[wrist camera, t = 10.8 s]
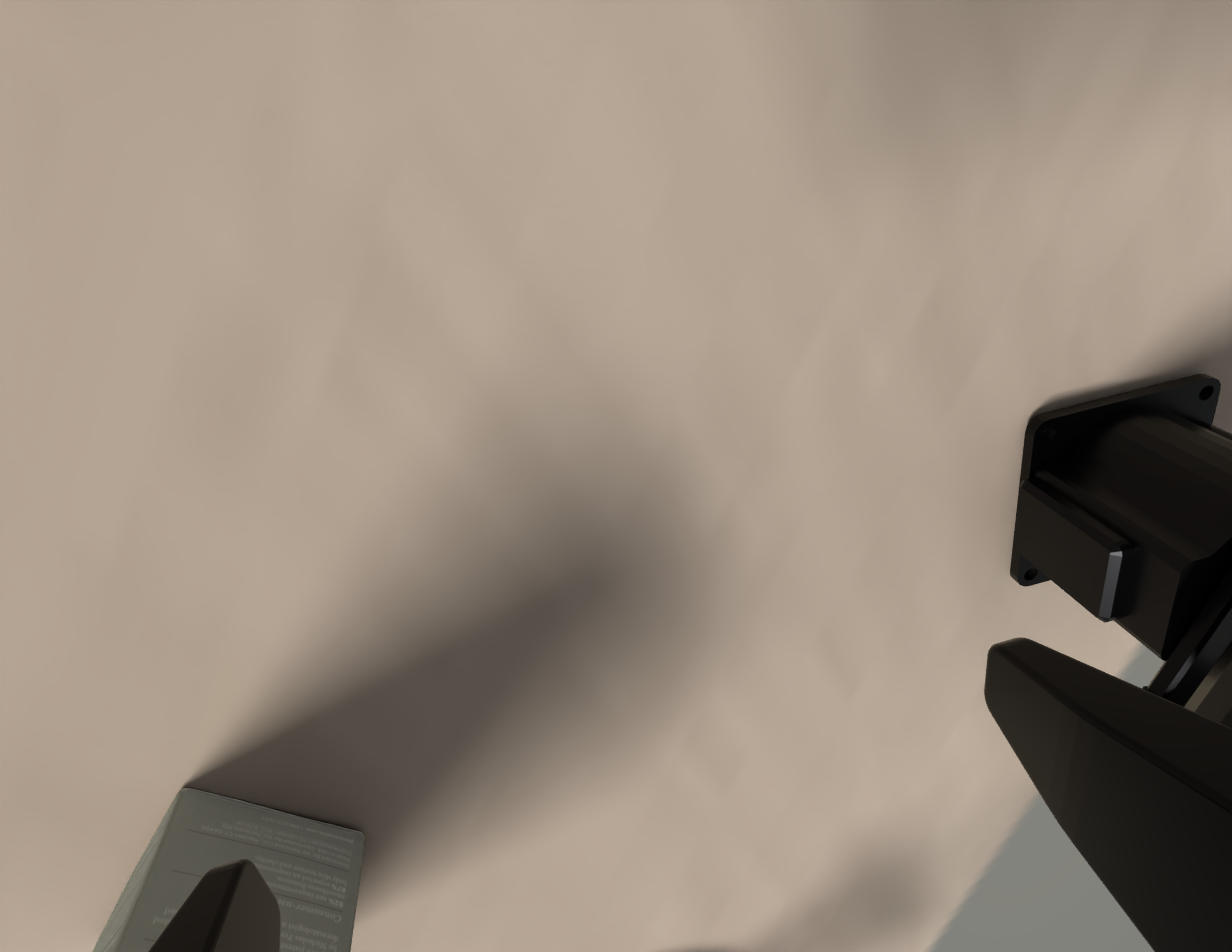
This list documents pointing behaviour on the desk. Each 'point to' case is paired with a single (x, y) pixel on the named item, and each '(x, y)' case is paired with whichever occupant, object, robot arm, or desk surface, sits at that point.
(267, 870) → the skincare box
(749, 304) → the desk surface
